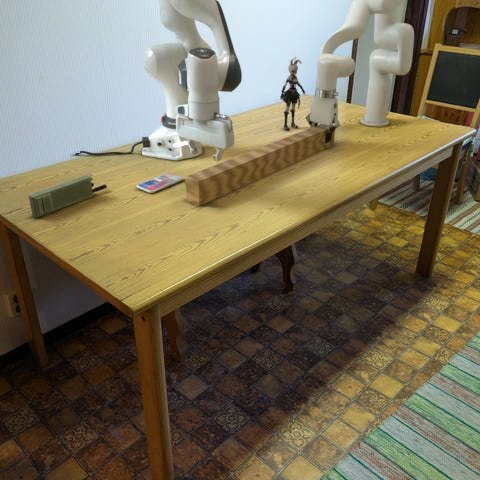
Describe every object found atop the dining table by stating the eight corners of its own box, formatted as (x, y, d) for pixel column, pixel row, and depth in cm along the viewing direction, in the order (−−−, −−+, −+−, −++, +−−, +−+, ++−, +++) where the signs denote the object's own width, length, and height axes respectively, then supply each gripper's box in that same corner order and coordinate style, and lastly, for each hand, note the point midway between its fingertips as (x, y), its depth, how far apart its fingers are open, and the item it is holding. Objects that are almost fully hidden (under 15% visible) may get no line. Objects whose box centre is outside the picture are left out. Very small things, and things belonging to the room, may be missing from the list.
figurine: (282, 133, 213) (286, 58, 198) (272, 129, 216) (275, 56, 202) (305, 126, 221) (311, 54, 206) (295, 123, 225) (300, 52, 210)
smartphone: (184, 177, 167) (150, 191, 157) (184, 180, 167) (151, 194, 157) (168, 171, 171) (134, 185, 161) (168, 174, 171) (135, 188, 161)
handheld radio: (30, 215, 144) (102, 188, 161) (37, 219, 142) (109, 191, 159) (26, 193, 140) (100, 168, 157) (33, 197, 138) (107, 171, 155)
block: (199, 206, 151) (198, 181, 147) (186, 200, 154) (185, 176, 150) (333, 145, 201) (335, 125, 197) (321, 142, 204) (323, 122, 200)
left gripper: (239, 114, 139) (239, 162, 145) (186, 102, 150) (189, 147, 157) (224, 118, 135) (224, 168, 141) (171, 106, 146) (174, 152, 153)
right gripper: (350, 95, 186) (345, 142, 195) (311, 88, 196) (308, 133, 205) (340, 99, 181) (334, 147, 190) (300, 91, 191) (297, 137, 200)
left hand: (205, 157), depth 149 cm, fingers open, 8 cm apart
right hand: (321, 139), depth 197 cm, fingers closed on block, 5 cm apart
